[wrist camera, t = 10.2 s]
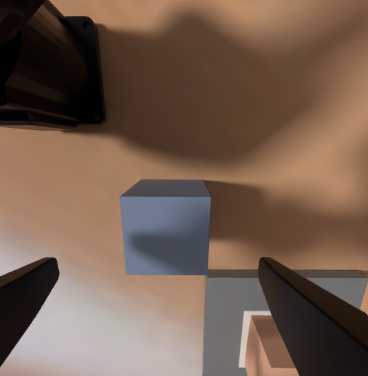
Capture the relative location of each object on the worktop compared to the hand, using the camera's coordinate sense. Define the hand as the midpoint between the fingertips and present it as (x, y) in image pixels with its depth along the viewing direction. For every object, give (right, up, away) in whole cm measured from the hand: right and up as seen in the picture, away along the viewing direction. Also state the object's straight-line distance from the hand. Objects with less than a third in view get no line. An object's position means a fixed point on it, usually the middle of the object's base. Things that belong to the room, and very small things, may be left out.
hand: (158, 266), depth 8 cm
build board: (+10, -11, +10) cm, 18 cm away
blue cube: (0, +2, +7) cm, 8 cm away
